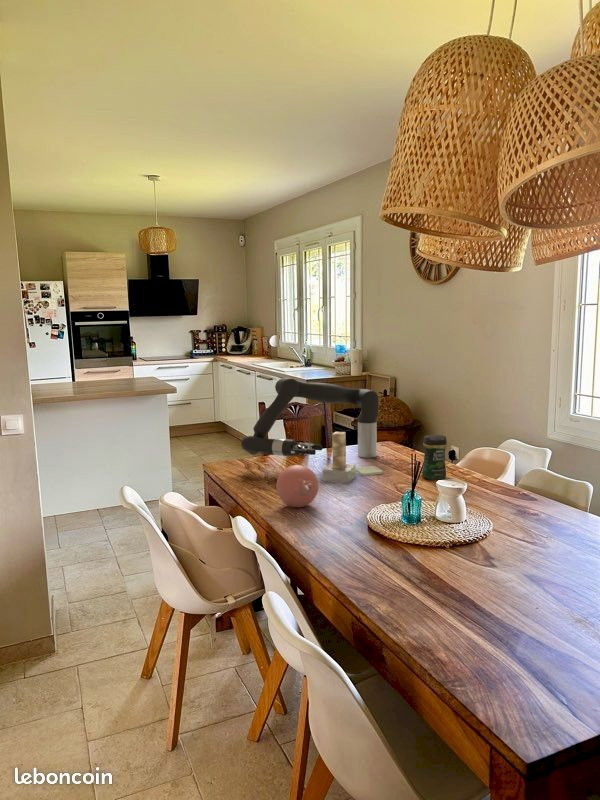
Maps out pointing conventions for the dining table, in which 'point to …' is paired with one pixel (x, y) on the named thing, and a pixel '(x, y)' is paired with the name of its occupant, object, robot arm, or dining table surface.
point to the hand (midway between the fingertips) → (318, 450)
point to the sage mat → (369, 470)
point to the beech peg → (339, 450)
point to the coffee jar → (434, 457)
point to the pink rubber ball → (297, 486)
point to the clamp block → (339, 474)
